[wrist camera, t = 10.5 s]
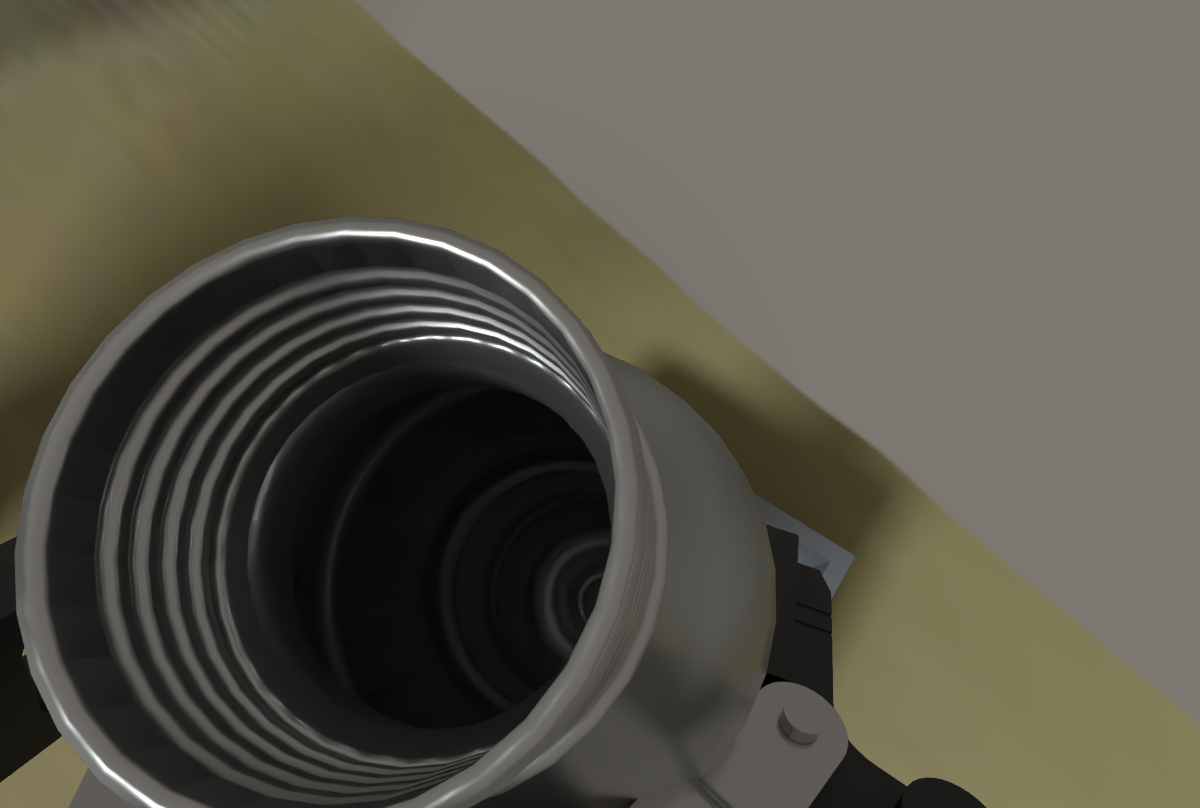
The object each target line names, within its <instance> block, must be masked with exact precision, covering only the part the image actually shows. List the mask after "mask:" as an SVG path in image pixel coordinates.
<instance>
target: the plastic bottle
mask: <svg viewBox="0 0 1200 808" xmlns="http://www.w3.org/2000/svg"><path fill="white" fill-rule="evenodd" d="M14 553H15V583H16V613H17V618H18V622H19V626H20V630H21V635H22V639H23V643H24V647H25V651H26V656H27V660H28V664H29V668H30V672H31V675H32V677H33V679H34V682H35V684H36V686H37V688H38V690H39V692H40V694H41V696H42V698H43V700H44V702H45V704H46V706H47V708H48V711H49V713H50V715H51V717H52V719H53V721H54V723H55V725H56V727H57V729H58V731H59V732H60V733H61V735H62V736H63V737H64V738H65V740H66V741H67V742H68V743H69V745H70V746H71V747H72V748H73V749H74V751H75V752H76V753H77V754H78V756H79V757H80V758H81V759H82V761H83V762H84V763H85V764H86V766H87V767H88V768H89V769H90V770H91V772H92V773H93V774H94V775H95V777H96V778H97V779H98V780H99V781H100V782H102V783H103V784H104V785H106V786H107V787H108V788H110V789H111V790H112V791H113V792H115V793H116V794H117V795H119V796H120V797H121V798H123V799H124V800H125V801H127V802H128V803H129V804H131V805H132V806H133V807H135V808H629V807H630V806H631V805H632V804H633V803H634V802H635V801H636V800H637V799H638V798H642V797H645V796H648V795H651V794H653V793H655V792H657V791H659V790H661V789H663V788H665V787H668V786H670V785H672V784H674V783H677V782H679V781H683V780H687V779H691V778H693V777H696V778H697V779H699V778H700V777H702V776H703V775H704V774H706V773H707V772H708V771H709V770H711V769H712V768H713V767H714V766H715V765H716V763H717V762H718V761H719V760H720V759H721V757H722V756H723V755H724V754H725V753H726V752H727V750H728V749H729V747H730V746H731V744H732V743H733V741H734V740H735V738H736V737H737V736H738V734H739V733H740V731H741V730H742V728H743V727H744V725H745V724H746V722H747V719H748V717H749V714H750V712H751V710H752V707H753V705H754V702H755V700H756V697H757V695H758V693H759V690H760V688H761V685H762V683H763V680H764V678H765V676H766V673H767V667H768V662H769V657H770V651H771V646H772V641H773V635H774V630H775V625H776V578H775V565H774V561H773V556H772V551H771V547H770V542H769V537H768V532H767V528H766V523H765V519H764V517H763V514H762V512H761V510H760V507H759V505H758V503H757V500H756V498H755V496H754V493H753V491H752V489H751V486H750V484H749V482H748V479H747V477H746V475H745V473H744V472H743V470H742V469H741V467H740V466H739V464H738V463H737V461H736V460H735V458H734V457H733V455H732V454H731V452H730V451H729V449H728V448H727V446H726V445H725V443H724V442H723V440H722V439H721V437H720V436H719V435H718V434H717V433H716V432H715V431H714V430H713V429H712V428H711V427H710V426H709V425H708V424H707V422H706V421H705V420H704V419H703V418H702V417H701V416H700V415H699V414H698V413H697V412H696V411H695V410H694V409H693V408H692V407H691V406H690V405H689V404H688V403H687V402H686V401H684V400H683V399H682V398H681V397H679V396H678V395H677V394H676V393H674V392H673V391H671V390H670V389H668V388H667V387H665V386H664V385H663V384H661V383H660V382H658V381H657V380H655V379H654V378H652V377H651V376H650V375H648V374H647V373H645V372H644V371H642V370H641V369H639V368H638V367H636V366H634V365H631V364H629V363H627V362H625V361H623V360H620V359H618V358H616V357H614V356H611V355H609V354H607V353H605V352H602V350H601V349H600V347H599V345H598V344H597V342H596V341H595V339H594V337H593V336H592V334H591V333H590V331H589V330H588V329H587V328H586V327H585V326H584V325H583V324H582V322H581V320H580V319H579V318H578V317H577V316H576V315H575V314H574V313H573V312H572V311H571V310H570V309H569V308H568V307H567V305H566V304H565V303H564V302H563V301H562V300H561V299H560V298H559V297H558V296H557V295H556V294H555V293H554V292H553V291H552V290H551V289H550V288H549V287H548V286H547V285H546V284H545V283H544V282H543V281H542V280H541V279H540V278H538V277H537V276H535V275H534V274H532V273H531V272H529V271H528V270H526V269H525V268H524V267H522V266H521V265H519V264H518V263H516V262H515V261H513V260H512V259H510V258H509V257H507V256H506V255H505V254H503V253H502V252H500V251H499V250H497V249H494V248H492V247H490V246H487V245H485V244H483V243H480V242H478V241H476V240H473V239H471V238H469V237H466V236H464V235H462V234H459V233H457V232H454V231H452V230H450V229H445V228H441V227H436V226H431V225H427V224H422V223H418V222H413V221H408V220H404V219H399V218H371V217H340V218H333V219H326V220H319V221H311V222H304V223H297V224H292V225H289V226H286V227H282V228H279V229H276V230H273V231H269V232H266V233H263V234H260V235H257V236H253V237H250V238H247V239H244V240H241V241H239V242H237V243H235V244H233V245H231V246H229V247H227V248H225V249H223V250H221V251H219V252H217V253H215V254H213V255H211V256H209V257H207V258H205V259H203V260H201V261H199V262H197V263H195V264H193V265H192V266H190V267H189V268H187V269H186V270H184V271H183V272H182V273H180V274H179V275H177V276H176V277H174V278H173V279H172V280H170V281H169V282H167V283H166V284H165V285H163V286H162V287H160V288H159V289H157V290H156V291H155V292H153V293H152V294H150V295H149V296H148V297H146V298H145V299H144V300H143V301H142V302H141V303H140V304H139V305H138V306H137V307H136V308H135V309H134V310H133V311H132V312H131V313H130V314H129V315H128V316H127V317H126V318H125V319H124V320H123V321H122V322H121V323H120V324H119V325H117V326H116V327H115V328H114V329H113V330H112V331H111V332H110V333H109V334H108V335H107V336H106V337H105V339H104V340H103V341H102V343H101V344H100V345H99V347H98V348H97V349H96V351H95V352H94V353H93V354H92V356H91V357H90V358H89V360H88V361H87V362H86V364H85V365H84V366H83V368H82V369H81V370H80V372H79V373H78V374H77V376H76V377H75V378H74V380H73V381H72V382H71V384H70V386H69V388H68V389H67V391H66V393H65V395H64V397H63V399H62V401H61V402H60V404H59V406H58V408H57V410H56V412H55V414H54V416H53V417H52V419H51V421H50V423H49V425H48V427H47V429H46V431H45V432H44V434H43V437H42V440H41V443H40V446H39V449H38V452H37V454H36V457H35V460H34V463H33V466H32V469H31V472H30V475H29V478H28V481H27V484H26V487H25V490H24V494H23V500H22V507H21V513H20V520H19V526H18V533H17V539H16V546H15V552H14ZM302 564H303V567H302V575H301V581H300V587H299V593H298V599H297V603H296V598H295V592H294V586H293V581H294V577H295V573H296V571H297V570H298V569H299V568H300V566H301V565H302Z"/></svg>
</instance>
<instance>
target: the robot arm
mask: <svg viewBox="0 0 1200 808" xmlns="http://www.w3.org/2000/svg"><path fill="white" fill-rule="evenodd" d="M766 528H767V532H768V537H769V542H770V547H771V551H772V556H773V561H774V565H775V578H776V625H775V630H774V635H773V641H772V646H771V651H770V657H769V662H768V667H767V673H766V676H765V678H764V680H763V683H762V685H761V688H760V690H759V693H758V695H757V697H756V700H755V702H754V705H753V707H752V710H751V712H750V714H749V717H748V719H747V722H746V724H745V725H744V727H743V728H742V730H741V731H740V733H739V734H738V736H737V737H736V738H735V740H734V741H733V743H732V744H731V746H730V747H729V749H728V750H727V752H726V753H725V754H724V755H723V756H722V757H721V759H720V760H719V761H718V762H717V763H716V765H715V766H714V767H713V768H712V769H711V770H709V771H708V772H707V773H706V774H704V775H703V776H702V777H700V778H699V779H697V778H696V777H693V778H691V779H687V780H683V781H679V782H677V783H674V784H672V785H670V786H668V787H665V788H663V789H661V790H659V791H657V792H655V793H653V794H651V795H648V796H645V797H642V798H638V799H637V800H636V801H635V802H634V803H633V804H632V805H631V806H630V807H629V808H986V807H985V806H984V805H983V804H982V803H981V802H980V801H979V800H978V799H976V798H975V797H974V796H973V795H971V794H970V793H969V792H967V791H965V790H964V789H962V788H961V787H959V786H957V785H955V784H953V783H951V782H948V781H945V780H942V779H937V778H921V779H917V780H915V781H913V782H912V783H911V784H909V785H908V786H905V785H904V784H903V783H901V782H900V781H898V780H897V779H895V778H894V777H892V776H891V775H889V774H888V773H886V772H885V771H883V770H882V769H880V768H879V767H877V766H876V765H875V764H873V763H872V762H871V761H869V760H868V759H867V758H865V757H864V756H863V755H862V754H861V753H860V752H859V751H858V750H857V749H856V748H855V747H854V746H853V745H852V744H851V743H850V741H849V740H848V736H847V731H846V728H845V726H844V723H843V721H842V719H841V718H840V716H839V714H838V713H837V712H836V710H835V709H834V706H833V665H832V636H831V633H832V618H831V614H832V611H831V591H830V589H829V587H828V585H827V583H826V581H825V580H824V578H823V576H822V574H821V572H820V570H818V569H815V568H812V567H809V566H806V565H803V564H800V563H798V546H799V536H798V535H797V534H794V533H791V532H788V531H785V530H782V529H779V528H776V527H773V526H770V525H767V524H766ZM16 539H17V537H15V538H13V539H11V540H9V541H7V542H5V543H3V544H1V545H0V782H2V781H3V780H4V779H6V778H7V777H8V776H10V775H11V774H12V773H14V772H15V771H16V770H17V769H19V768H20V767H21V766H23V765H24V764H25V763H27V762H28V761H29V760H31V759H32V758H33V757H35V756H36V755H37V754H39V753H40V752H41V751H43V750H44V749H45V748H47V747H48V746H49V745H51V744H52V743H53V742H55V741H56V740H57V739H59V738H60V737H61V736H62V735H61V733H60V732H59V731H58V729H57V727H56V725H55V723H54V721H53V719H52V717H51V715H50V713H49V711H48V708H47V706H46V704H45V702H44V700H43V698H42V696H41V694H40V692H39V690H38V688H37V686H36V684H35V682H34V679H33V677H32V675H31V672H30V668H29V664H28V660H27V656H26V655H24V656H23V657H22V653H23V649H24V643H23V639H22V635H21V630H20V626H19V622H18V618H17V613H16V583H15V553H14V552H15V546H16ZM302 567H303V564H302V565H301V566H300V568H299V569H298V570H297V571H296V573H295V577H294V581H293V586H294V592H295V598H296V603H297V599H298V593H299V587H300V581H301V575H302ZM69 808H135V807H133V806H132V805H131V804H129V803H128V802H127V801H125V800H124V799H123V798H121V797H120V796H119V795H117V794H116V793H115V792H113V791H112V790H111V789H110V788H108V787H107V786H106V785H104V784H103V783H102V782H100V781H99V780H98V779H97V778H96V777H95V775H94V774H93V773H92V772H91V770H90V769H89V768H88V769H87V771H86V773H85V775H84V777H83V779H82V781H81V783H80V786H79V788H78V790H77V792H76V794H75V796H74V798H73V800H72V802H71V804H70V806H69Z"/></svg>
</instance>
